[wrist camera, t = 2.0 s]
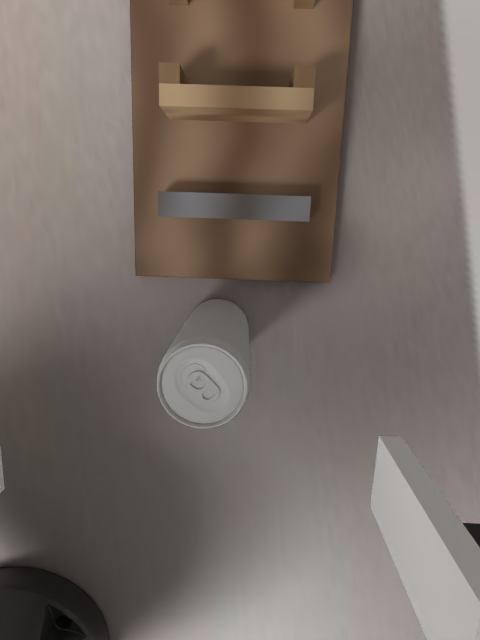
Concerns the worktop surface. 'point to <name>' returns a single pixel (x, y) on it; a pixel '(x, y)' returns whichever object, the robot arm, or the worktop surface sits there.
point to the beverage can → (207, 366)
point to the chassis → (237, 136)
